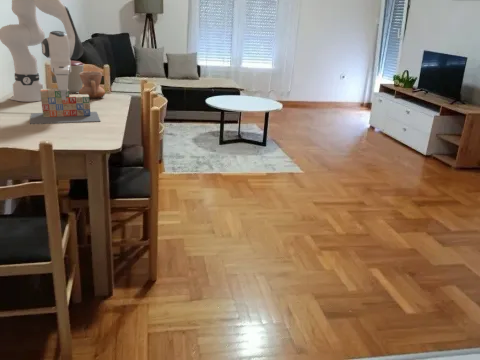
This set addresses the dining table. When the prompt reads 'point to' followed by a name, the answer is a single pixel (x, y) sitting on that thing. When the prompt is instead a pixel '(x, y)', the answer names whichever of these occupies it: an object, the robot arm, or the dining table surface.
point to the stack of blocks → (64, 104)
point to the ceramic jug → (91, 84)
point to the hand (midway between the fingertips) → (63, 97)
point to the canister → (75, 77)
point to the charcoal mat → (63, 119)
